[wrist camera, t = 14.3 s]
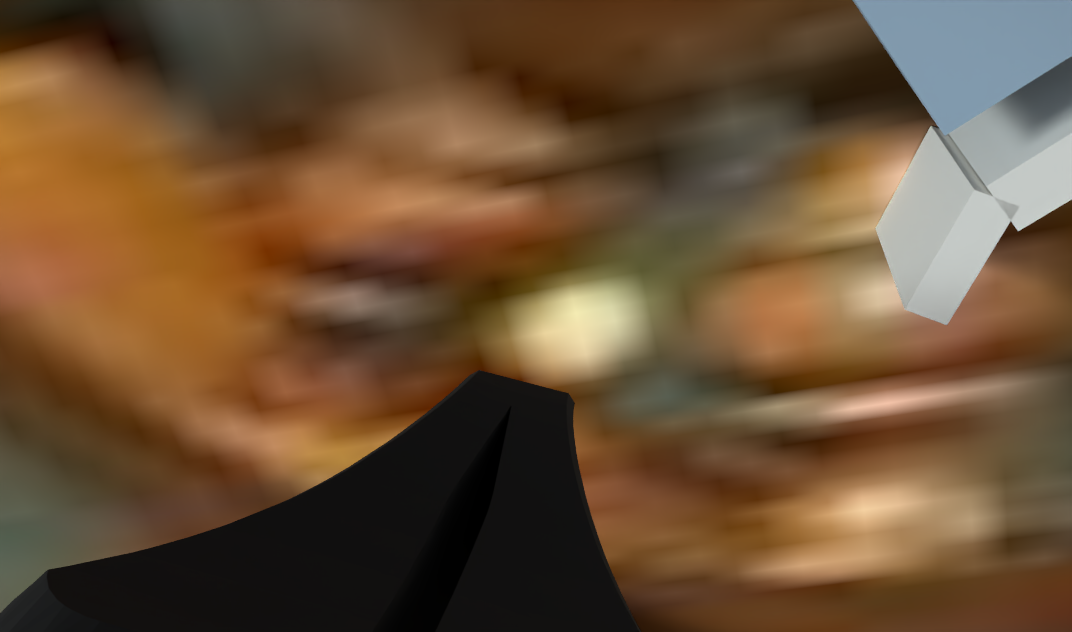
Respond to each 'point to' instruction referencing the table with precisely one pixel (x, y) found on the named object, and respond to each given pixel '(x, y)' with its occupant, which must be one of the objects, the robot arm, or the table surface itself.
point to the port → (977, 192)
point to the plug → (970, 48)
